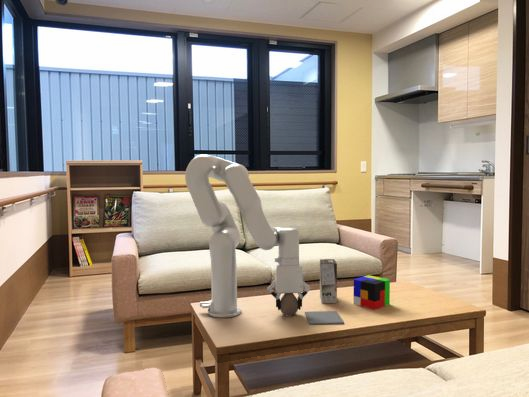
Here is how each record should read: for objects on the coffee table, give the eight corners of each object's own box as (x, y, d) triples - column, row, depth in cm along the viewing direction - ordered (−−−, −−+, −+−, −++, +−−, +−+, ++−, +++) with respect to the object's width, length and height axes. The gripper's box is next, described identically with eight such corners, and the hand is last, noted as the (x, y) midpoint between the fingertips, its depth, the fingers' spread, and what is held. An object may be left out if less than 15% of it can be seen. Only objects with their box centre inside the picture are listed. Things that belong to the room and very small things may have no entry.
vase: (297, 318, 152) (297, 294, 151) (278, 317, 153) (278, 293, 153) (299, 312, 159) (299, 289, 158) (281, 311, 160) (281, 288, 159)
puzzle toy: (353, 304, 168) (353, 279, 167) (368, 298, 174) (368, 275, 174) (375, 310, 160) (375, 284, 160) (389, 304, 167) (389, 279, 166)
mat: (309, 324, 145) (309, 323, 145) (304, 313, 157) (304, 311, 157) (344, 323, 146) (344, 322, 146) (336, 312, 158) (336, 310, 158)
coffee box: (337, 303, 169) (337, 263, 168) (321, 303, 169) (321, 263, 168) (334, 296, 178) (334, 258, 177) (319, 296, 178) (319, 258, 177)
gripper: (265, 263, 150) (266, 312, 152) (314, 263, 151) (314, 311, 152) (264, 259, 158) (265, 306, 159) (310, 258, 159) (310, 305, 160)
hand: (289, 308), depth 156 cm, fingers closed on vase, 6 cm apart
